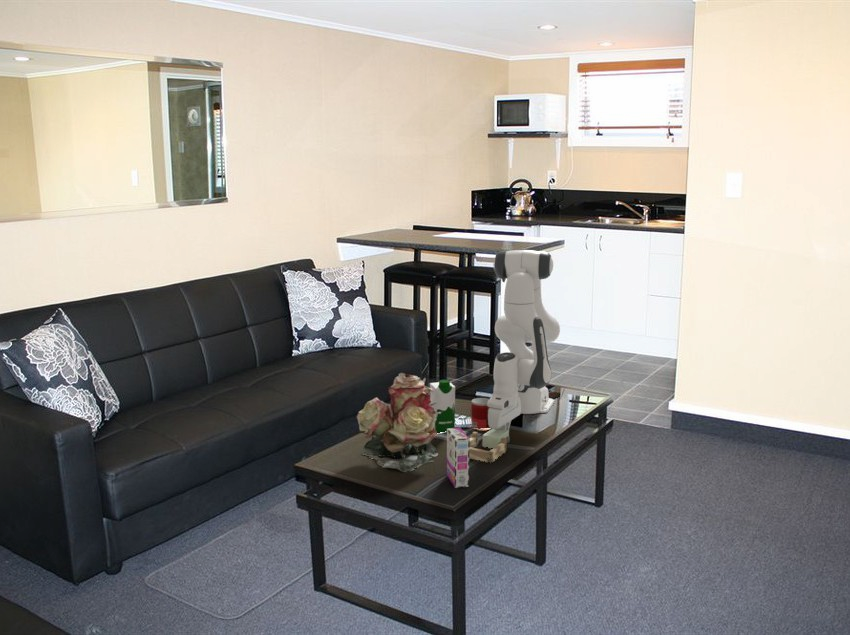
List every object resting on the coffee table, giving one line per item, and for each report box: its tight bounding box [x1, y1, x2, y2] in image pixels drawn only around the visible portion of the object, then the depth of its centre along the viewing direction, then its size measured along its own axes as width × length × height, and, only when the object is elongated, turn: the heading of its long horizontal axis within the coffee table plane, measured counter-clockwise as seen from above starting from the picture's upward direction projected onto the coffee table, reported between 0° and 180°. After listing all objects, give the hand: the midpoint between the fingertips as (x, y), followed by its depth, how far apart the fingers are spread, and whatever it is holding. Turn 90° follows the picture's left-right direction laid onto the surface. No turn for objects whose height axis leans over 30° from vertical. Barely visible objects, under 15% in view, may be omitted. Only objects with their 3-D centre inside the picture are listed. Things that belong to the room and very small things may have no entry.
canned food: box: [470, 397, 490, 428], centre depth 309 cm, size 8×8×11 cm
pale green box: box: [481, 426, 511, 449], centre depth 294 cm, size 9×7×6 cm
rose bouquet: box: [355, 372, 439, 473], centre depth 280 cm, size 26×29×30 cm
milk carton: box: [429, 379, 456, 433], centre depth 307 cm, size 9×9×20 cm
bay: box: [469, 431, 508, 464], centre depth 285 cm, size 12×13×5 cm
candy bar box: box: [446, 427, 470, 489], centre depth 261 cm, size 11×5×16 cm, turn 13°
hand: (505, 433), depth 300 cm, fingers closed
